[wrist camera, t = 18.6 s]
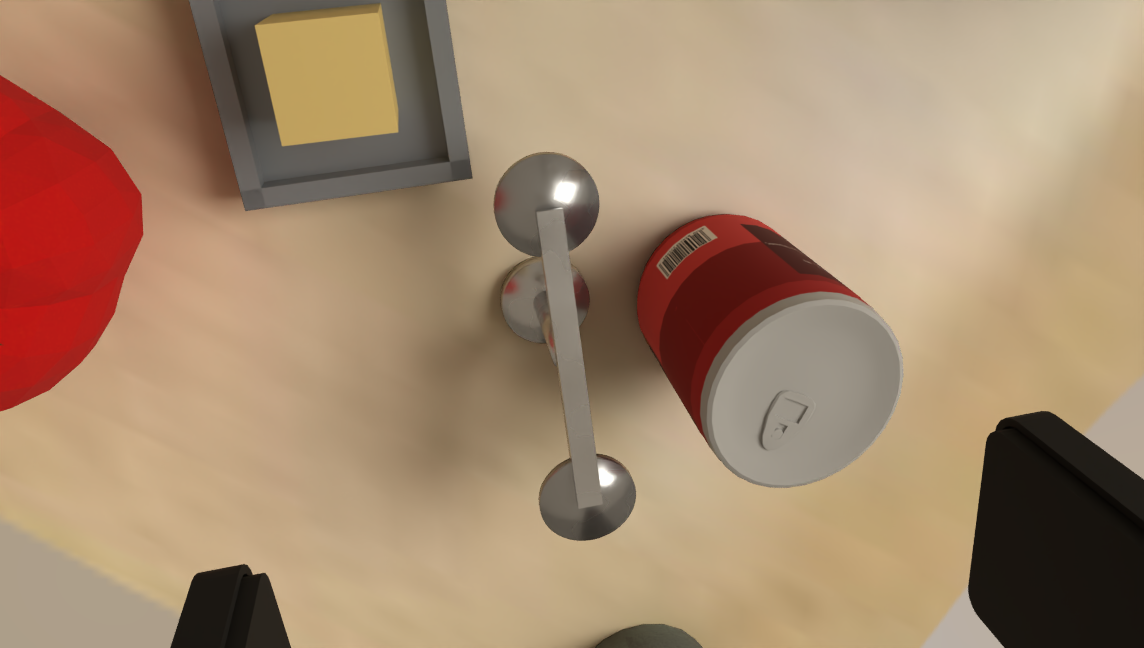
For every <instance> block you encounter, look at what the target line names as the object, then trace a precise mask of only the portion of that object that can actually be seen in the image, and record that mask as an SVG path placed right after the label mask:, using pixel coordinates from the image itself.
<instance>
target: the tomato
mask: <svg viewBox="0 0 1144 648" xmlns="http://www.w3.org/2000/svg"><path fill="white" fill-rule="evenodd" d="M142 236H143V219H142V198H141V193H140V192H139V190H138V189H137V187H136V186H135V184H134V183H133V181H132V179H131V178H130V176H129V175H128V173H127V172H126V170H125V169H124V167H123V166H122V164H121V163H120V161H119V160H118V158H117V157H116V155H115V154H114V152H113V151H112V149H111V148H109V147H108V146H106V145H105V144H104V143H102V142H101V141H99V140H98V139H97V138H95V137H94V136H92V135H91V134H90V133H88V132H87V131H85V130H84V129H83V128H81V127H80V126H78V125H77V124H76V123H74V122H73V121H71V120H70V119H69V118H67V117H66V116H64V115H63V114H62V113H60V112H58V111H57V110H55V109H54V108H52V107H51V106H49V105H47V104H46V103H44V102H42V101H41V100H39V99H38V98H36V97H34V96H33V95H31V94H30V93H28V92H26V91H25V90H23V89H21V88H20V87H18V86H17V85H15V84H13V83H12V82H10V81H9V80H7V79H5V78H4V77H2V76H1V75H0V411H3V410H7V409H10V408H12V407H14V406H17V405H19V404H21V403H23V402H25V401H27V400H29V399H31V398H34V397H36V396H38V395H40V394H42V393H44V392H46V391H48V390H50V389H51V388H52V387H54V386H55V385H56V384H57V383H58V382H59V381H61V380H62V379H63V378H64V377H65V376H66V375H67V374H69V373H70V372H71V371H72V370H73V369H74V368H76V367H77V366H78V365H79V364H80V363H81V362H82V361H83V360H84V358H85V357H86V356H87V355H88V354H89V352H90V351H91V350H92V349H93V348H94V346H95V345H96V344H97V342H98V340H99V338H100V337H101V335H102V333H103V332H104V330H105V328H106V327H107V325H108V323H109V322H110V320H111V318H112V317H113V315H114V313H115V309H116V305H117V302H118V298H119V294H120V291H121V287H122V283H123V280H124V276H125V274H126V272H127V269H128V267H129V265H130V263H131V261H132V258H133V256H134V254H135V252H136V249H137V247H138V245H139V243H140V241H141V238H142Z"/></svg>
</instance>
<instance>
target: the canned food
mask: <svg viewBox="0 0 1144 648" xmlns="http://www.w3.org/2000/svg"><path fill="white" fill-rule="evenodd" d="M637 315H638V320H639V325H640V329H641V331H642V333H643V336H644V338H645V340H646V342H647V344H648V345H649V347H650V349H651V350H652V352H653V354H654V356H655V357H656V359H657V361H658V362H659V364H660V366H661V367H662V369H663V371H664V372H665V374H666V376H667V377H668V379H669V381H670V382H671V384H672V386H673V388H674V389H675V391H676V393H677V394H678V396H679V398H680V399H681V401H682V403H683V404H684V406H685V408H686V409H687V411H688V413H689V414H690V416H691V418H692V420H693V421H694V423H695V425H696V426H697V428H698V430H699V431H700V433H701V434H702V435H703V437H704V438H705V440H706V442H707V443H708V445H709V447H710V448H711V449H712V451H713V452H714V453H715V455H716V456H717V457H718V459H719V460H720V461H722V463H723V464H724V465H725V467H727V468H728V469H729V470H730V471H732V472H733V473H734V474H735V475H737V476H738V477H740V478H742V479H744V480H746V481H748V482H750V483H753V484H757V485H761V486H766V487H774V488H789V487H796V486H802V485H807V484H810V483H813V482H816V481H819V480H822V479H825V478H827V477H829V476H830V475H832V474H834V473H836V472H838V471H840V470H842V469H843V468H845V467H846V466H848V465H849V464H850V463H852V462H853V461H855V460H856V459H857V458H859V457H860V456H861V455H862V454H863V453H864V452H865V451H866V450H867V449H868V448H869V447H870V446H871V445H872V444H873V443H874V442H875V440H876V439H877V438H878V436H879V435H880V434H881V433H882V431H883V430H884V429H885V427H886V425H887V423H888V422H889V420H890V418H891V416H892V414H893V413H894V410H895V408H896V405H897V402H898V399H899V396H900V394H901V388H902V381H903V357H902V353H901V350H900V346H899V343H898V340H897V338H896V337H895V335H894V333H893V331H892V330H891V328H890V326H889V325H888V324H887V323H886V322H885V321H884V319H883V318H882V317H881V316H880V315H879V314H878V313H877V312H876V311H875V310H874V309H873V308H872V307H871V306H869V305H868V304H867V303H866V302H864V301H863V300H862V299H861V298H860V297H859V296H858V295H857V294H855V293H854V292H853V291H851V290H850V289H849V288H848V287H846V286H845V285H844V284H842V283H841V282H840V281H838V280H837V279H836V278H835V277H833V276H832V275H831V274H829V273H828V272H827V271H826V270H824V269H823V268H822V267H820V266H819V265H818V264H817V263H815V262H814V261H813V260H811V259H810V258H809V257H808V256H806V255H805V254H804V253H802V252H801V251H800V250H799V249H797V248H796V247H795V246H793V245H792V244H791V243H789V242H788V241H787V240H786V239H784V238H783V237H782V236H780V235H779V234H778V233H777V232H775V231H774V230H773V229H771V228H770V227H768V226H767V225H765V224H763V223H762V222H760V221H758V220H755V219H752V218H749V217H746V216H740V215H730V214H721V215H712V216H706V217H703V218H700V219H696V220H693V221H691V222H689V223H687V224H686V225H684V226H682V227H680V228H678V229H677V230H676V231H674V232H673V233H672V234H670V235H669V236H668V237H667V238H666V239H665V240H664V241H663V242H662V243H661V244H660V245H659V246H658V247H657V248H656V250H655V251H654V253H653V254H652V256H651V257H650V259H649V260H648V262H647V264H646V266H645V269H644V271H643V274H642V276H641V280H640V284H639V289H638V297H637Z"/></svg>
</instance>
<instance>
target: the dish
mask: <svg viewBox="0 0 1144 648" xmlns="http://www.w3.org/2000/svg"><path fill="white" fill-rule="evenodd" d="M189 3H190V7H191V10H192V14H193V18H194V21H195V25H196V29H197V33H198V36H199V40H200V44H201V48H202V51H203V55H204V59H205V62H206V66H207V70H208V74H209V77H210V81H211V85H212V88H213V92H214V96H215V100H216V103H217V107H218V111H219V115H220V118H221V122H222V126H223V129H224V133H225V137H226V141H227V144H228V148H229V152H230V155H231V159H232V163H233V167H234V170H235V174H236V178H237V182H238V185H239V189H240V193H241V196H242V200H243V204H244V208H245V211H249V210H256V209H263V208H270V207H277V206H284V205H291V204H298V203H305V202H312V201H319V200H326V199H333V198H340V197H347V196H353V195H360V194H367V193H374V192H381V191H388V190H395V189H402V188H409V187H416V186H423V185H430V184H437V183H444V182H451V181H458V180H465V179H472V171H471V165H470V158H469V151H468V145H467V138H466V131H465V125H464V118H463V111H462V105H461V98H460V91H459V85H458V78H457V71H456V65H455V58H454V52H453V45H452V38H451V32H450V25H449V18H448V12H447V5H446V0H189ZM376 3H381V8H382V14H383V20H384V26H385V32H386V38H387V44H388V50H389V56H390V62H391V68H392V74H393V80H394V86H395V92H396V98H397V104H398V132H397V133H389V134H380V135H372V136H364V137H356V138H347V139H339V140H331V141H323V142H314V143H306V144H298V145H290V146H282V144H281V140H280V135H279V131H278V126H277V122H276V118H275V113H274V109H273V104H272V100H271V96H270V91H269V87H268V82H267V78H266V73H265V69H264V65H263V60H262V56H261V51H260V47H259V43H258V38H257V34H256V29H255V25H256V24H258V23H259V22H261V21H262V20H264V19H266V18H267V17H269V16H270V15H272V14H278V13H287V12H297V11H307V10H317V9H327V8H337V7H346V6H356V5H366V4H376Z"/></svg>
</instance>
